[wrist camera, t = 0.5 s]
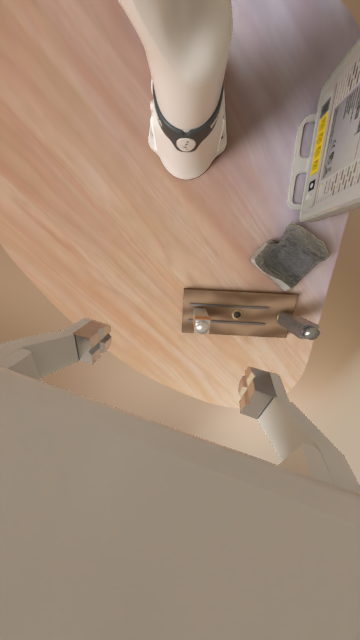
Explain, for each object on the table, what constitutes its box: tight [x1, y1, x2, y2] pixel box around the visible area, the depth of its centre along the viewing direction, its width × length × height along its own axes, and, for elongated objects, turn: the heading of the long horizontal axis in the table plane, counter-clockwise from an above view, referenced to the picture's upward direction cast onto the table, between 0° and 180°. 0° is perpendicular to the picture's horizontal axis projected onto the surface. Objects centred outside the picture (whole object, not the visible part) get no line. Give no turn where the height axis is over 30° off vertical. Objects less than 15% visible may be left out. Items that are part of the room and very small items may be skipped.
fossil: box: [250, 222, 329, 291], centre depth 47 cm, size 15×16×4 cm
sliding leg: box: [193, 308, 211, 334], centre depth 46 cm, size 4×4×13 cm
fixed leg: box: [277, 312, 320, 340], centre depth 46 cm, size 4×4×13 cm
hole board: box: [182, 289, 298, 338], centre depth 53 cm, size 14×34×3 cm, turn 87°
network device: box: [287, 37, 360, 222], centre depth 32 cm, size 26×9×20 cm, turn 2°
